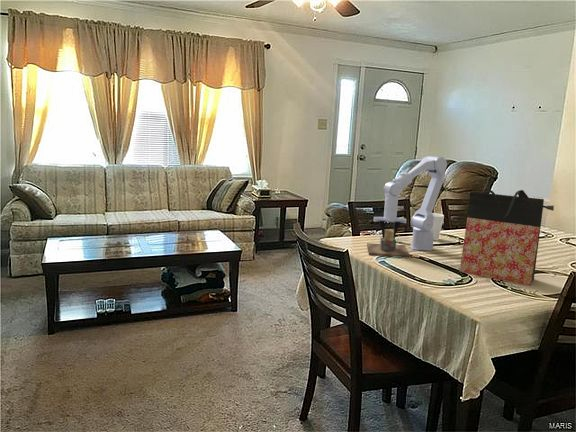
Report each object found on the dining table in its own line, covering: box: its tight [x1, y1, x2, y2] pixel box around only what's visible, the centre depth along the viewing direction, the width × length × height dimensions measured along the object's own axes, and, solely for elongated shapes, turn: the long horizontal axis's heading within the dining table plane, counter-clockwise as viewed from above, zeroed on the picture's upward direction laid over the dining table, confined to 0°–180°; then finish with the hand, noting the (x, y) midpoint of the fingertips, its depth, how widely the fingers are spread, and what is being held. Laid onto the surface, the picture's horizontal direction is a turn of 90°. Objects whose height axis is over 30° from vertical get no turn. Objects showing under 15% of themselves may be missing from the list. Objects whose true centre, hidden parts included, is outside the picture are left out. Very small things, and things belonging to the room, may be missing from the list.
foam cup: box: [430, 212, 445, 241], centre depth 241 cm, size 10×9×13 cm
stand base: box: [366, 237, 411, 258], centre depth 215 cm, size 18×18×6 cm
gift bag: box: [459, 188, 555, 287], centre depth 179 cm, size 29×14×35 cm, turn 56°
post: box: [383, 229, 394, 241], centre depth 214 cm, size 4×4×8 cm
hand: (388, 237), depth 214 cm, fingers closed on post, 4 cm apart
